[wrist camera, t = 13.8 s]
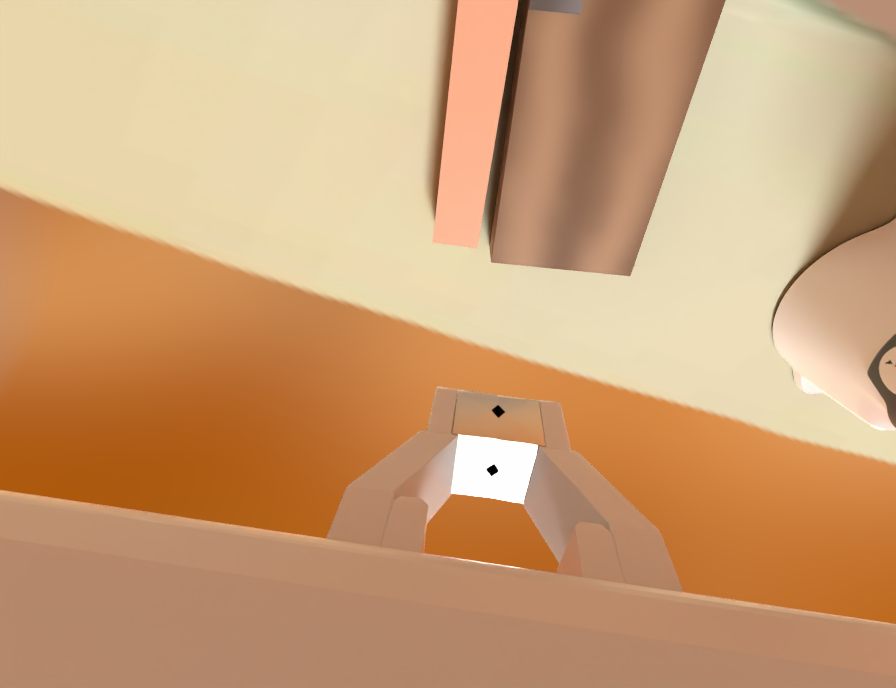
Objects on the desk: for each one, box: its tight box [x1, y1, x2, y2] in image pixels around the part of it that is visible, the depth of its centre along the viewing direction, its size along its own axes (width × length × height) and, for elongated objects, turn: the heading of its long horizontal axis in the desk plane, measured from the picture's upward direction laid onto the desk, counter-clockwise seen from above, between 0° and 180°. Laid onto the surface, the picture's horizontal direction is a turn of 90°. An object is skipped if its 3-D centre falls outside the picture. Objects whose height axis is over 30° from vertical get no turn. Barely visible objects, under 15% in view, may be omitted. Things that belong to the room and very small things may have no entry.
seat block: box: [490, 0, 725, 276], centre depth 28 cm, size 11×20×4 cm, turn 175°
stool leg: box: [433, 0, 518, 248], centre depth 28 cm, size 18×4×4 cm, turn 173°
